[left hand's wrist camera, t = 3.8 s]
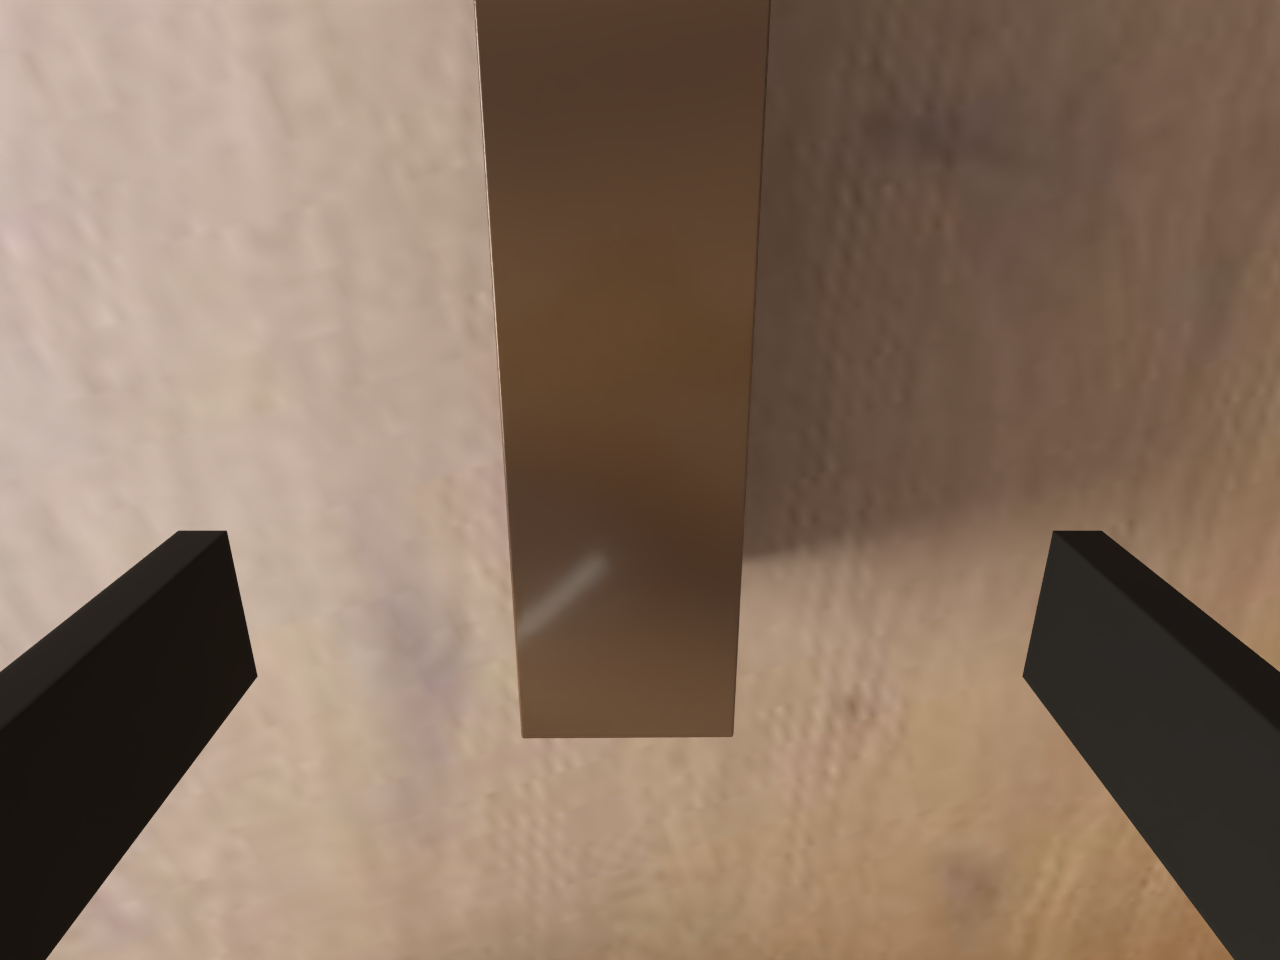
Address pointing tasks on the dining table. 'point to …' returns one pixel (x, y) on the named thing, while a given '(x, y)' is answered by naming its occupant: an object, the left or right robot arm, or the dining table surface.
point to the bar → (624, 348)
